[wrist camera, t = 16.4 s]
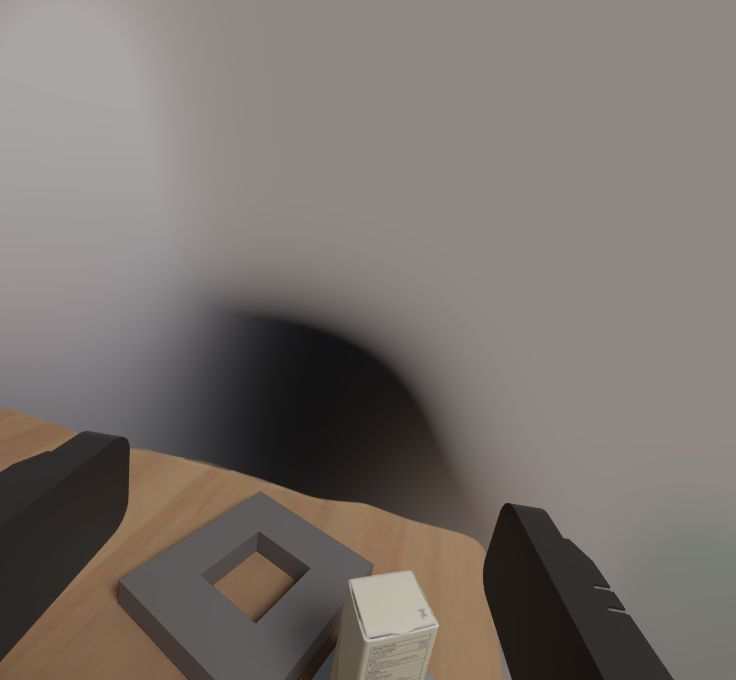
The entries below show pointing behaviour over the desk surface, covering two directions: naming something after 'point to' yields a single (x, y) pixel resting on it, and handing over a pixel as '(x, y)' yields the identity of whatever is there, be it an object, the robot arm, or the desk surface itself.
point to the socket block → (221, 617)
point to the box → (384, 630)
